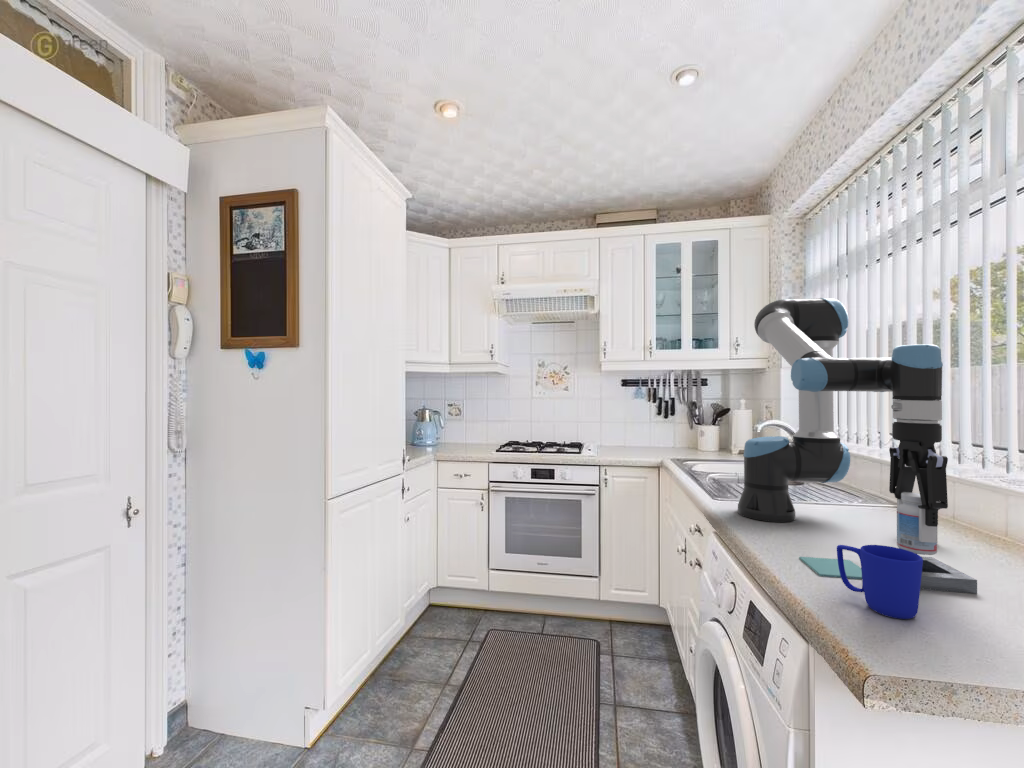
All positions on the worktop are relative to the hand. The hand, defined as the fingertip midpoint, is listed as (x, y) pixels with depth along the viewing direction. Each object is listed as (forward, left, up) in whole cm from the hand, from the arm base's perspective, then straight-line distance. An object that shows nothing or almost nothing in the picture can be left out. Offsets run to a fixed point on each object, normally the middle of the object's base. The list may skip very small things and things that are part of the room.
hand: (916, 536), depth 93 cm
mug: (+16, -15, -8) cm, 24 cm away
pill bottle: (0, 0, -3) cm, 3 cm away
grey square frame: (+1, 0, -8) cm, 8 cm away
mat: (-1, -14, -8) cm, 16 cm away
